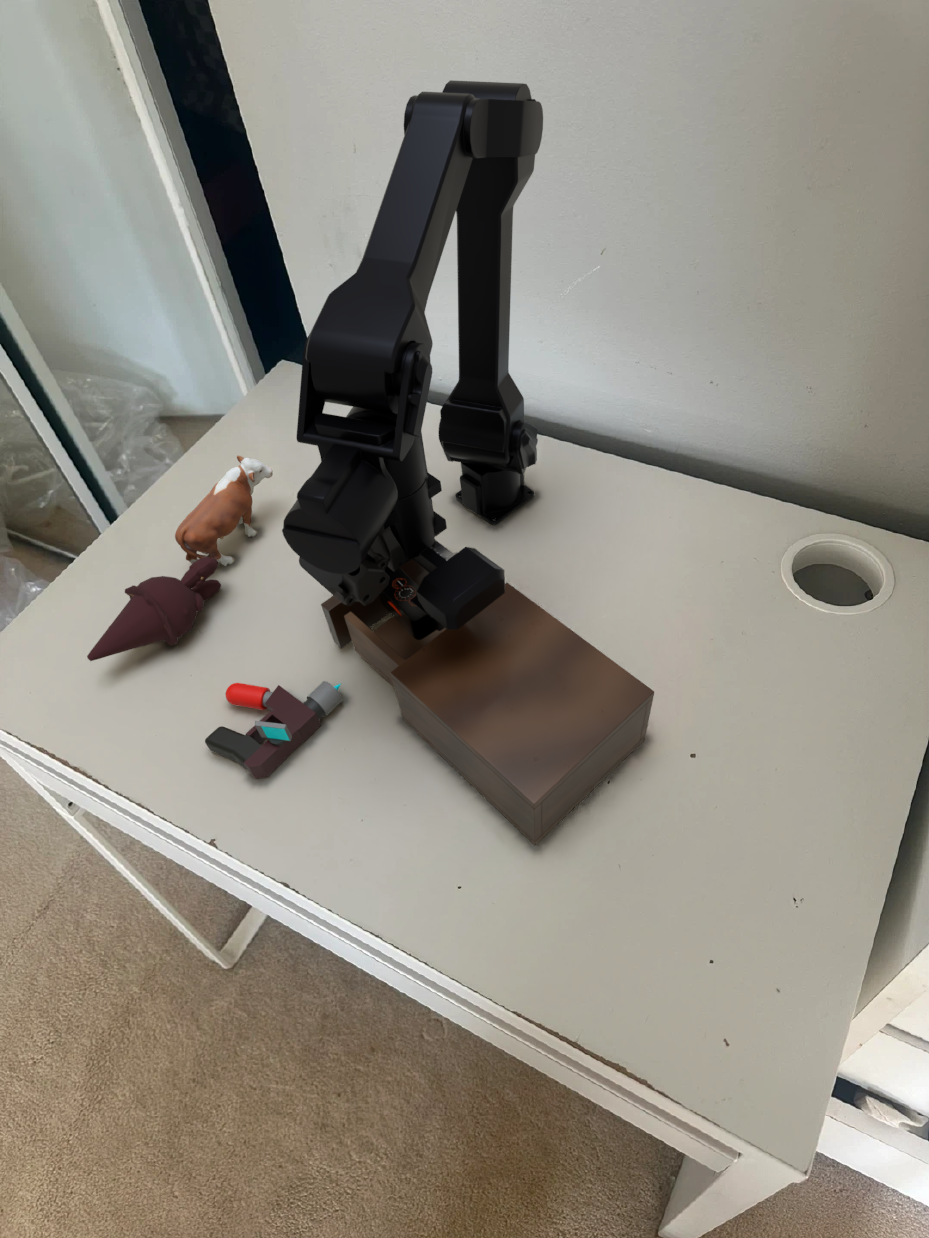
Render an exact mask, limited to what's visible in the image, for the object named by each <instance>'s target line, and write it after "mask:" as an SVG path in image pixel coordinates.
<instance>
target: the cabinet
mask: <svg viewBox="0 0 929 1238" xmlns="http://www.w3.org/2000/svg"><path fill="white" fill-rule="evenodd" d="M390 673H391V677H392V681H393V684H394V686H393V689H394V692H395V696H396V699H397V704H398V706H399V710H400V714H401V716H402V720H403V721H404V722H405V723H406V724H407V725H408V726H409V727H410V728H411V729H412V730H413V731H414V732H415V733H416V734H417V735H419V736H420V738H422V740H424V741H425V742H426V743H427V744H428V745H429V746H430V747H431V748H432V749H433V750H434V751H435V752H437V754H439V756H441V757H442V758H443V759H444V761H445V762H447V763H448V764H449V765H450V766H451V767H452V768H453V769H454V770H455V771H456V772H457V773H458V774H459V775H461V776H462V777H463V779H464V780H466V782H468V783H469V785H471V786H472V787H473V788H474V789H475V790H476V791H477V792H478V793H479V794H480V795H481V796H483V798H484V799H485V800H486V801H487V802H489V803H490V804H491V805H492V806H493V807H494V808H495V809H496V810H497V811H498V812H499V813H500V814H501V815H502V816H504V818H506V820H508V822H509V823H511V825H513V827H515V828H516V829H517V830H518V831H519V832H520V833H521V834H522V835H524V836H525V837H526V838H527V840H529V842H531V843H532V844H533V845H534V846H536V845H538V843H539V842H540V841H542V839H544V837H545V836H546V835H547V834H549V833H550V832H551V831H552V830H553V829H554V828H555V827H556V826H557V825H558V824H559V823H560V822H561V821H562V820H563V819H564V818H565V817H566V816H567V815H568V814H569V813H570V812H572V811H573V810H574V809H575V808H576V807H577V805H579V804H580V803H581V802H582V801H583V800H584V799H585V798H586V797H587V796H588V795H589V794H590V793H591V792H592V791H593V790H594V789H595V788H596V787H598V786H599V785H600V783H601V782H603V781H604V780H605V778H607V777H608V776H609V775H610V774H611V773H612V772H613V771H614V770H615V769H616V768H617V767H618V766H619V765H620V764H621V763H622V762H623V761H624V760H626V759H627V757H628V756H630V755H631V754H632V753H633V752H634V751H635V750H636V749H638V747H639V746H640V745H641V744H642V743H643V742H644V741H645V740H646V737H647V736H646V735H647V730H648V725H649V721H650V717H651V710H652V707H653V702H654V696H655V691H654V690H653V689H652V688H650V687H649V686H648V685H646V684H645V683H644V682H642V681H641V680H639V679H638V678H637V677H636V676H634V675H633V674H631V672H629V671H628V670H626V669H625V668H624V667H622V666H621V665H620V664H618V663H616V662H615V661H614V660H612V658H610V657H609V656H608V655H606V654H604V653H603V652H601V650H599V649H598V648H596V647H595V646H594V645H592V644H591V643H590V642H589V641H587V640H586V639H584V638H583V637H581V636H580V635H579V634H578V633H576V632H575V631H574V630H572V629H571V628H569V627H568V626H567V625H566V624H564V623H563V622H561V621H560V620H559V619H557V618H556V617H555V616H553V615H552V614H551V613H549V612H548V611H547V610H546V609H544V608H543V607H542V606H540V605H538V604H537V602H534V601H533V600H531V598H529V597H528V596H526V595H525V594H523V593H522V592H521V591H520V590H518V589H517V588H516V587H514V586H512V584H510V583H509V582H505V593H504V594H503V595H502V596H500V597H499V598H498V599H496V600H495V601H494V602H493V603H491V604H490V605H489V606H488V607H486V608H485V609H484V610H482V611H481V612H480V613H479V614H477V615H476V616H475V617H473V618H472V619H471V620H470V621H468V622H467V623H466V624H464V625H463V626H462V627H461V628H459V629H458V630H447V629H446V630H444V631H443V632H442V633H441V634H439V635H438V636H437V637H435V638H434V639H433V640H431V641H430V642H429V643H428V644H426V645H425V646H424V647H422V648H421V649H420V650H418V651H417V652H416V653H415V654H413V655H412V656H411V657H409V658H408V659H407V660H406V661H404V662H403V663H402V664H400V665H399V666H398V667H396V668H395V669H394V670H393V671H391V672H390Z"/></svg>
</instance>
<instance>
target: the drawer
mask: <svg viewBox="0 0 929 1238" xmlns="http://www.w3.org/2000/svg"><path fill="white" fill-rule="evenodd" d="M400 569H402V570H403V571H404V572H405V573H406V574H407V575H408V576H409V577H410V578H411V579H412V580H413V581H414V582H415V583H416V584H417V585H418V586H420V584H421V582H422V580H423V578H424V577H425V576H426V575H428V574H429V572H428V571H426V570H425V569H424V568H423V567H421V566H420V565H419V564H417V563H416V562H415V561H414V560H412V559H411V560H410V561H409V562H407V563H406V564H404V565H403V566H402V567H400ZM320 606H321V608H322V611H323V615H324V618H325V620H326V623H327V626H328V629H329V632H330V634H331V637H332V641H333V643H334V644H335V645H336V646H338V647H339V649H343V648H345V647H346V646H347V645H349V644H350V643H352V646H353V648H354V651H355V652H356V653H357V654H358V655H359V656H360V657H361V658H362V659H364V660H365V662H367V664H369V665H370V666H371V667H372V668H373V669H374V670H375V671H376V672H377V673H378V674H379V675H381V677H383V678H384V679H385V680H386V681H387V682H388V683H389V684H390V685H391V686H393V687H394V684H393V681H392V677H391V673H390V672H391V671H393V670H394V669H395V668H396V667H398V666H399V665H400V664H402V663H403V662H404V661H406V660H407V659H408V658H409V657H411V656H412V655H413V654H415V653H416V652H417V651H418V650H420V649H421V648H422V647H424V646H425V645H426V644H428V643H429V642H430V641H431V640H433V639H434V638H435V637H437V636H438V635H439V634H441V633H442V632H443V631H444V630H446V628H444V629H442V630H441V631H438V630H436V631H434V632H433V633H431V634H430V635H428V636H427V637H425V638H424V639H422V640H416V639H415V638H413V637H412V635H411V634H410V633H409V632H408V631H407V630H406V629H405V628H404V627H403V626H402V625H401V624H400V623H399V622H398V621H397V620H396V619H395V618H394V617H393V616H392V617H390V618H389V619H388V620H386V621H385V622H384V623H382V624H381V625H380V626H378V627H377V628H376V629H374V630H372V629H371V628H372V627H373V626H374V625H376V624H377V623H379V622H380V621H381V620H383V619H384V618H385V617H387V616H388V615H389V614H391V613H390V612H389V611H388V610H387V609H386V608H385V607H384V606H383V605H382V603H381V601H380V597H379V595H378V597H377V598H376V599H375V600H374V601H373V602H372V603H371V604H368V605H363V604H362V603H360V602H359V601H357V602H355V603H354V604H353V605H351V606H347V605H345V604H343V603H342V602H340V601H339V600H338V599H337V598H336V597H335V596H334V595H332V596H331V597H329V598H328V599H326V600H324V601H323V602H322V603H321V604H320Z"/></svg>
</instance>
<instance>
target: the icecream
mask: <svg viewBox="0 0 929 1238" xmlns="http://www.w3.org/2000/svg"><path fill="white" fill-rule="evenodd" d="M218 566H219V561H217V560H216V559H214V558H210V557H203V558H200V559H199V558H198V560H197V561H196V562H194V563H193V564H191V565H189V567H188V568H189V569H188V570H187V571H186V572H185V573H184V574H183V576H182V577H181V579H179V578H176V577H174V576H173V577H172V576H164V575H162V576H161V575H159V576H151V577H149V578H147V579H145V580H143V581H141V582H139V583H138V584H137V585H131V586H129V587H127V588H125V589H124V594H126V595H127V596H128V597H129V601H128V602H127V603H126V604H125V606H124V607H123V608H122V610H121V611H120V612H119V614H118V615H117V616H116V618H115V619H114V620H113V621H112V623H111V624H110V625H109V626H108V628H107V629H106V631H104V633H103V634H102V635H101V637H100V638H99V639H98V641H97V642H96V643H95V645H94V646H93V647H92V648H91V650H90V651H89V652H88V654H87V656H86V657H87V660H88V661H90V662H93V661H96V660H101V659H103V658H107V657H111V656H113V655H114V656H115V655H117V654H120V653H124V652H127V651H131V650H134V649H137V648H141V647H145V646H149V645H151V644H155V643H159V642H162V641H164V642H165V643H166V644H167V645H170V646H175V645H176V644H178V643H179V638H182V637H183V636H184V635H185V634H187V633H188V632H190V631H192V629H193V627H194V623H195V621H196V618H197V614H198V613H201V612H202V610H203V609H204V606H205V605H204V602H205V601H208V600H210V599H211V598H212V597H214V596H215V595H216V594H217V593H218V592H219V591H220V590H221V587H222V584H221V582H220V581H219V580H218V579H212V578H210V577H211V576H212V575H214V574H215V572H216V571H217V570H218ZM208 578H210V579H208Z"/></svg>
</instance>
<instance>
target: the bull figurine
mask: <svg viewBox="0 0 929 1238" xmlns="http://www.w3.org/2000/svg"><path fill="white" fill-rule="evenodd" d="M236 459H237V461H238V462H239V463H240V464H239V465H237V466H235V467H232V468H230V469H228V470H227V471H226V473H225V474H224V476H223V477H222V478H221V479H220V480H219V481H217V482H216V483H215V484H214V485H213V487H212V489H211V490H210V491H209V492H208V494H206V495H205V497H204V498H203V499H202V500H201V501H200V502H199V503H198V504H197V505H196V507H195V508H194V509H193V510H192V511H190V512H189V513H188V515H186V516H185V518H183V520H182V522H180V524H179V525H178V527H177V529H176V531H175V533H174V539H175V540H176V541H175V542H177V544H178V545H179V546H180V548H181V550H182V551H183V552H185V553H186V555H185V560H186V561H188V562H189V563H190V564H191V565H192V564H193V563H194V562H196V561H197V560H199V559H200V558H203V557H210V558H214V559H216V560H217V561H218V563H220V564H221V565H222V566H225V567H226V566H228V565H232V564H234V563H235V561H236V559H235V557H233V556H230V555H224V554H222V553H221V552H220V551H219V548H218V540H219V539H220V540H223V539H224V538H225V537H227V536H229V535H230V534H231V533H233V532H234V531H235V529H236V528H237V527H238V525H242V524H243V525H244V528H245V531H244V534H245V535H247V537H249V538H250V537H256V536H257V535H258V531H257V530H256V529H254V528H253V527H252V526H251V525H252V515H253V496H252V495H253V493H254V489H255V487H256V486H257V485H259V484H260V483H261V482H262V480H264V479H271V478H272V476H273V472H274V471H273V468H272V467H271V466H270V465H266V464H264V463H263V462H261V461H260V460H258V459H256V458H250V457H243V456H242V455H237V456H236ZM198 552H199V553H201V554H199V553H198Z"/></svg>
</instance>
